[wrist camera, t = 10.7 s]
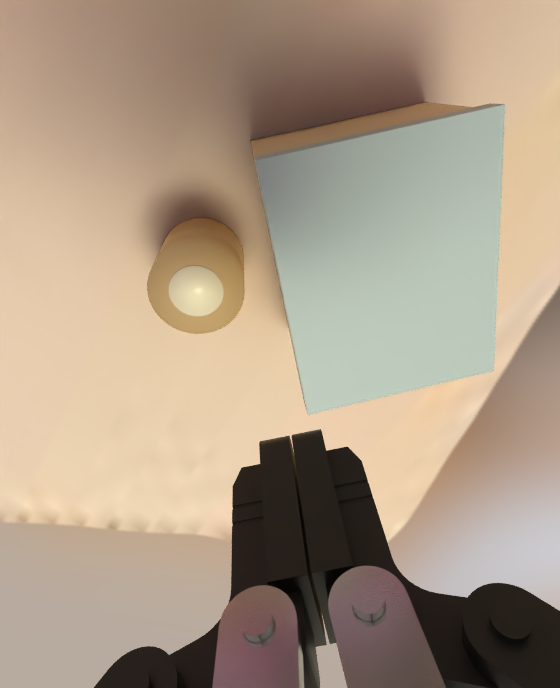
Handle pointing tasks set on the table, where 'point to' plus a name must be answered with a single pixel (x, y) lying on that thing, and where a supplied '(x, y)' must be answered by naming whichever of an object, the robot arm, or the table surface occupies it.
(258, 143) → the box
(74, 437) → the table surface
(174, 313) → the tan cylinder cream top
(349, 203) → the lid
